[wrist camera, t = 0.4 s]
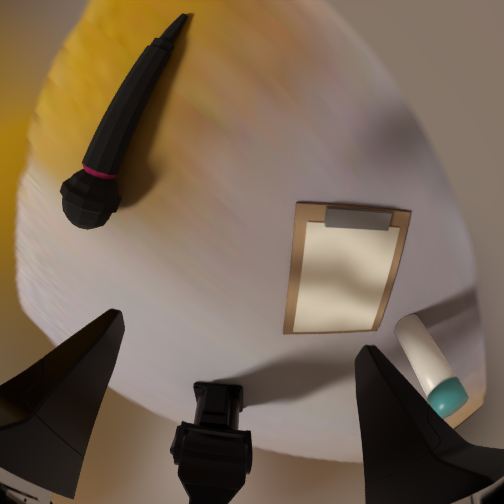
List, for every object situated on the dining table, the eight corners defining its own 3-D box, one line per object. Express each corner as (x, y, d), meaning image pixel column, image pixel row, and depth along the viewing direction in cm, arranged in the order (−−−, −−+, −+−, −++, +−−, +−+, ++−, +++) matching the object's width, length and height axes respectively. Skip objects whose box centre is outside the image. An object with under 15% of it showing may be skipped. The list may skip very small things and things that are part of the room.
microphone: (176, 27, 18) (86, 209, 23) (145, -3, 13) (42, 213, 18) (222, 35, 18) (121, 235, 23) (196, -1, 12) (76, 245, 17)
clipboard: (375, 328, 28) (379, 334, 27) (282, 331, 28) (283, 338, 27) (408, 211, 22) (414, 215, 21) (296, 202, 22) (298, 206, 21)
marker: (413, 335, 29) (455, 414, 17) (389, 338, 29) (428, 423, 17) (423, 312, 28) (474, 391, 16) (399, 314, 28) (448, 401, 16)
